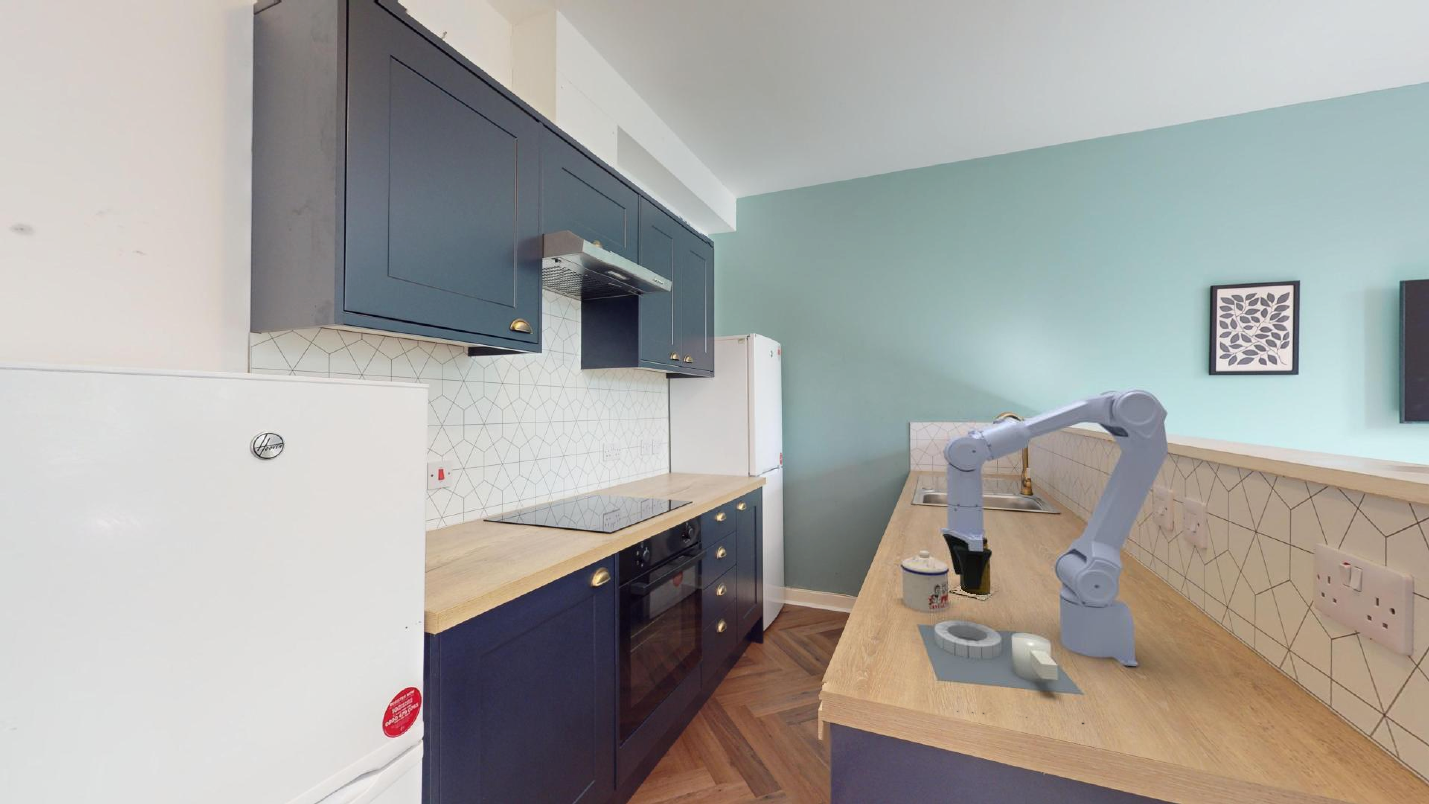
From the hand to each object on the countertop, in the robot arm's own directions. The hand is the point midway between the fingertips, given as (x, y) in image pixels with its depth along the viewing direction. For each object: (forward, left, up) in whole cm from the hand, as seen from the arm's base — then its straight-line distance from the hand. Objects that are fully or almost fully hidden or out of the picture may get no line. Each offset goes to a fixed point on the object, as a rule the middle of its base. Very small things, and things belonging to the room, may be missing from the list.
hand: (966, 581), depth 91 cm
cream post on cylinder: (-6, +14, -9) cm, 18 cm away
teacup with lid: (+4, -15, -11) cm, 19 cm away
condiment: (-7, -26, -11) cm, 29 cm away
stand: (-2, +7, -10) cm, 13 cm away
